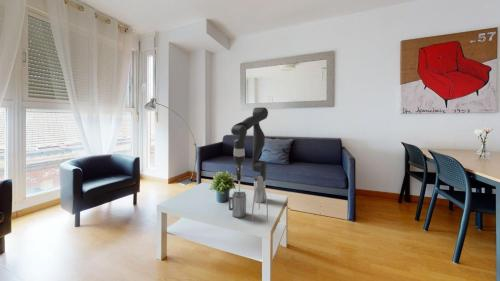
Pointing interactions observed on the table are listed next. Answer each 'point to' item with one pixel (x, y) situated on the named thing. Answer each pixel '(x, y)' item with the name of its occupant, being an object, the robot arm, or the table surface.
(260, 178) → the juicer
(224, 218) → the table surface
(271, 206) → the table surface
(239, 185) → the plunger
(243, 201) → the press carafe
